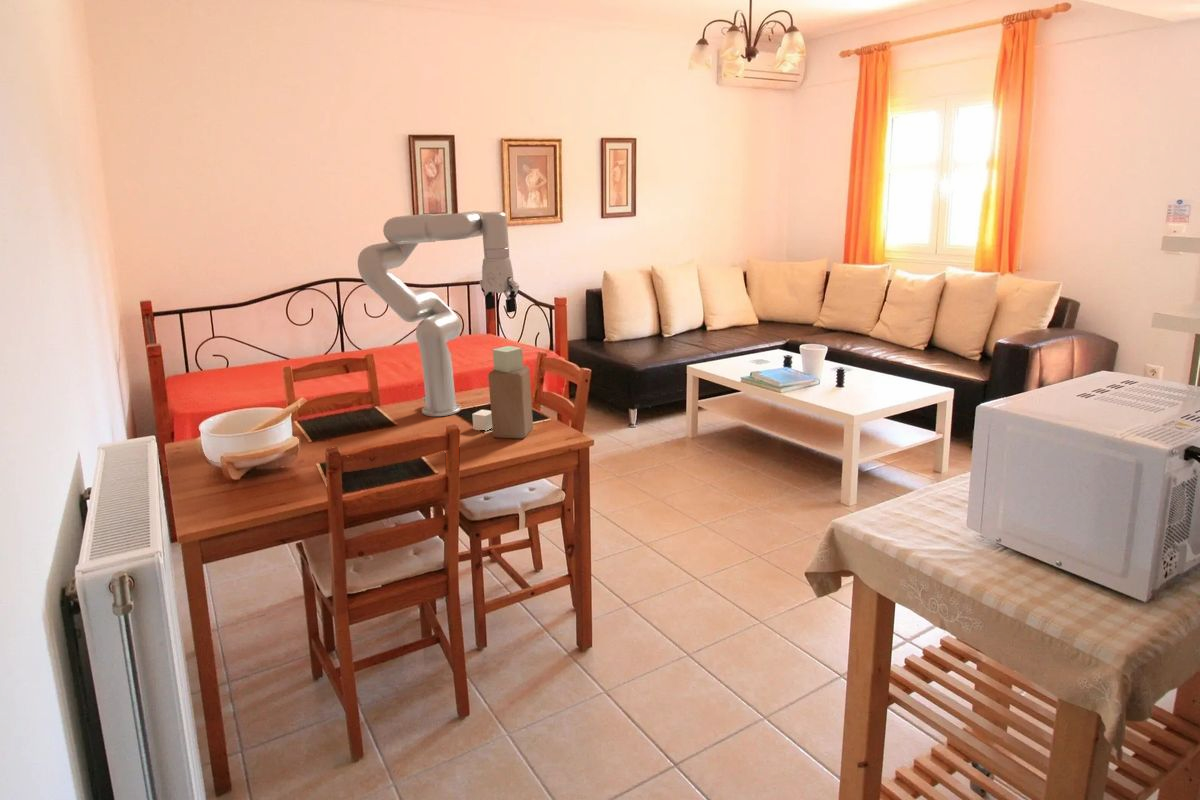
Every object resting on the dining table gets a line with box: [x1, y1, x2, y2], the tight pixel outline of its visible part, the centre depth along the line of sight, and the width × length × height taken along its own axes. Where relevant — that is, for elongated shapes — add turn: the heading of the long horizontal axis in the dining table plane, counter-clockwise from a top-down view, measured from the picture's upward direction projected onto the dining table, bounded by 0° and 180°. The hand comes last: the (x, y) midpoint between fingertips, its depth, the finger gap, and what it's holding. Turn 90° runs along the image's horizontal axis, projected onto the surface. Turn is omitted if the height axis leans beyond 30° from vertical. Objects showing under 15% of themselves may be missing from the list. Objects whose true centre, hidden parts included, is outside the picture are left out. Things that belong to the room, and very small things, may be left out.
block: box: [487, 365, 534, 439], centre depth 223 cm, size 10×10×20 cm
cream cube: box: [472, 409, 492, 432], centre depth 231 cm, size 5×5×5 cm
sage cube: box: [492, 345, 524, 373], centre depth 219 cm, size 6×6×6 cm
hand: (500, 310), depth 232 cm, fingers open, 9 cm apart
